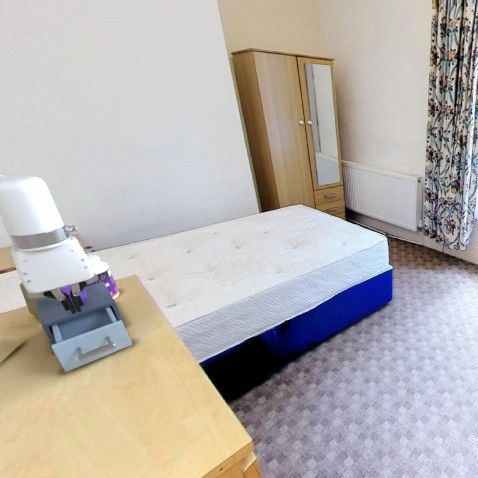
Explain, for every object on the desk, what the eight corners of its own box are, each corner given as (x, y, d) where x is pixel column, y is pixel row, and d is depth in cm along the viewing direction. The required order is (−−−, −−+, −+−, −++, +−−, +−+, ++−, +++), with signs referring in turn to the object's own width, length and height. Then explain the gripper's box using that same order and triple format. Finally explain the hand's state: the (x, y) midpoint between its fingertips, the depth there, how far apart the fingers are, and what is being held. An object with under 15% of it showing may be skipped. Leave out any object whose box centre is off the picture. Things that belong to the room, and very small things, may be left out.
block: (87, 298, 87) (80, 283, 85) (63, 305, 83) (55, 290, 81) (84, 291, 89) (78, 277, 87) (61, 298, 86) (53, 284, 84)
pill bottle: (84, 310, 96) (63, 268, 90) (87, 298, 101) (68, 258, 96) (120, 301, 101) (103, 260, 95) (120, 289, 106) (104, 251, 100)
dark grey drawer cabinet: (126, 328, 89) (114, 301, 86) (58, 355, 80) (41, 325, 76) (114, 307, 98) (103, 281, 94) (51, 328, 88) (36, 300, 85)
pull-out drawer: (137, 354, 79) (127, 331, 76) (68, 384, 71) (54, 359, 68) (119, 321, 90) (110, 300, 87) (58, 344, 82) (45, 321, 79)
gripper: (88, 223, 73) (116, 291, 81) (-18, 242, 63) (25, 318, 70) (94, 232, 69) (122, 303, 76) (-19, 254, 58) (27, 334, 66)
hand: (76, 310), depth 73 cm, fingers closed
